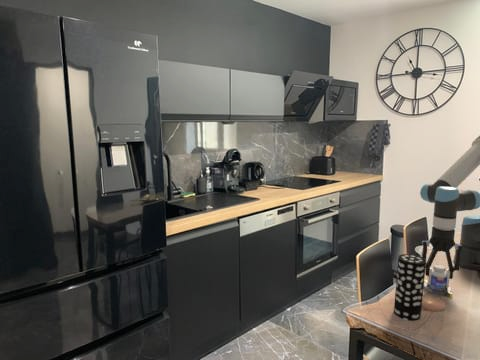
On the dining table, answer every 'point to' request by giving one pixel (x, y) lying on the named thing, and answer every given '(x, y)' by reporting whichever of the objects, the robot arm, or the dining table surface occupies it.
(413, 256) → the spotted tube
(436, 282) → the pill bottle
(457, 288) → the dining table surface
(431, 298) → the peach disc
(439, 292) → the collar
